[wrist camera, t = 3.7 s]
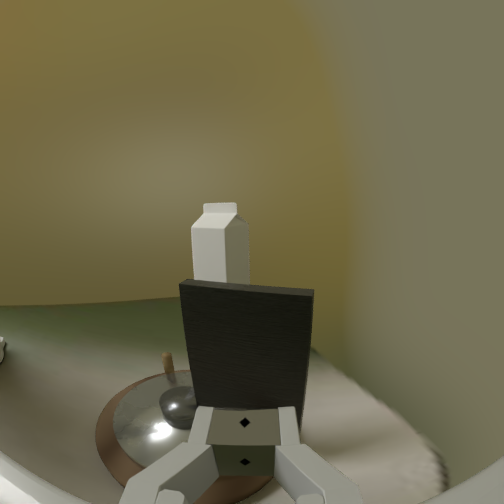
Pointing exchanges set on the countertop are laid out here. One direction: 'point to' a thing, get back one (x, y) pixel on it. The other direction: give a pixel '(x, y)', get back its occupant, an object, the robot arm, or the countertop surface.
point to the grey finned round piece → (222, 364)
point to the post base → (123, 468)
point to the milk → (221, 245)
